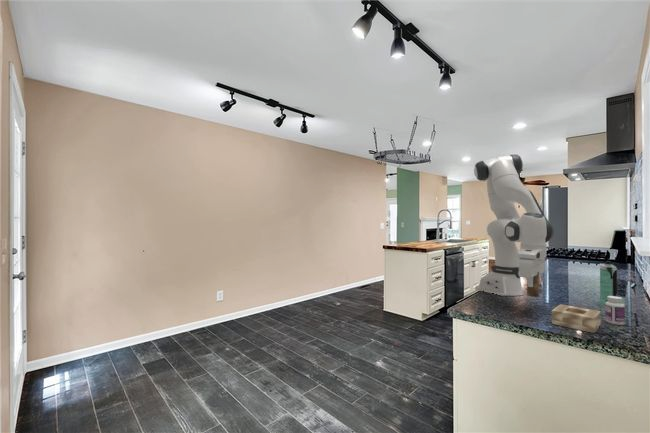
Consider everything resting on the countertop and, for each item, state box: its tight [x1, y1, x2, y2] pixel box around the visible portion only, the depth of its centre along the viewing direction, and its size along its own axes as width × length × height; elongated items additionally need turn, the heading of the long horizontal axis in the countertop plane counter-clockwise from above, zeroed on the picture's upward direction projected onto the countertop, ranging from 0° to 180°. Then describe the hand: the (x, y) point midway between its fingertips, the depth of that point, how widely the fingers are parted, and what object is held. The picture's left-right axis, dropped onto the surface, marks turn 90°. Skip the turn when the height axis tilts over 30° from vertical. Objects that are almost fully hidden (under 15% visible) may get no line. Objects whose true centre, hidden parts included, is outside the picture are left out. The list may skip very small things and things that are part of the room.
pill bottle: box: [604, 296, 626, 326], centre depth 112 cm, size 5×5×10 cm
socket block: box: [551, 303, 602, 334], centre depth 111 cm, size 12×12×5 cm
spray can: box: [599, 260, 618, 307], centre depth 133 cm, size 6×6×20 cm
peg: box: [526, 272, 540, 298], centre depth 123 cm, size 4×4×10 cm
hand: (532, 285), depth 123 cm, fingers closed on peg, 4 cm apart
